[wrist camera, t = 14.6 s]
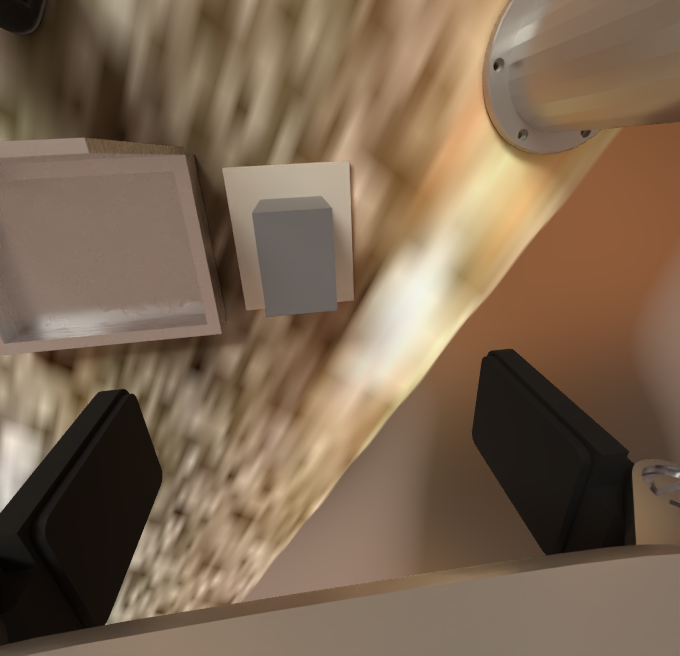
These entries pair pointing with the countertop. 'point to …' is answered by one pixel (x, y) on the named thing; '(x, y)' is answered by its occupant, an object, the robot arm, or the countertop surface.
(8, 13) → the electronic device
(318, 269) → the block
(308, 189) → the flat beige panel
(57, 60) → the countertop surface
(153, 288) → the case
